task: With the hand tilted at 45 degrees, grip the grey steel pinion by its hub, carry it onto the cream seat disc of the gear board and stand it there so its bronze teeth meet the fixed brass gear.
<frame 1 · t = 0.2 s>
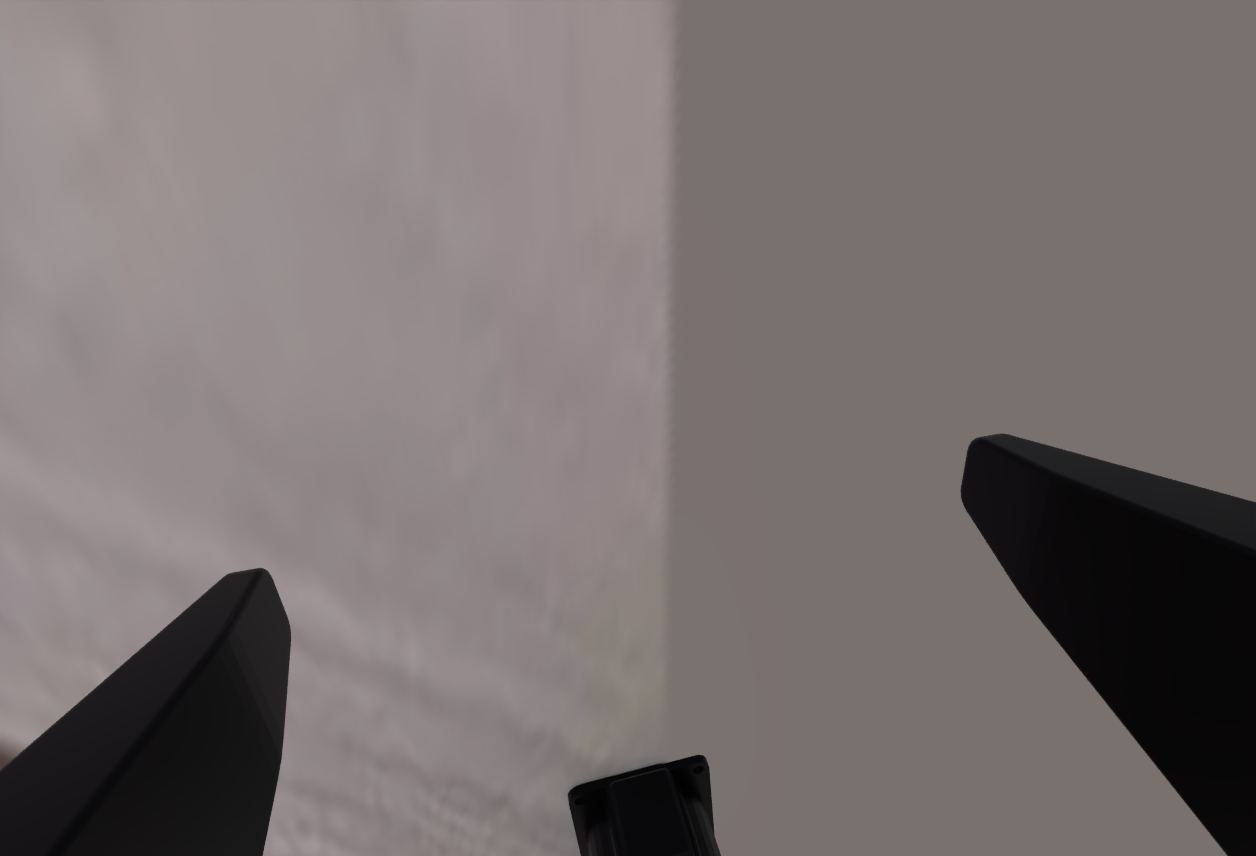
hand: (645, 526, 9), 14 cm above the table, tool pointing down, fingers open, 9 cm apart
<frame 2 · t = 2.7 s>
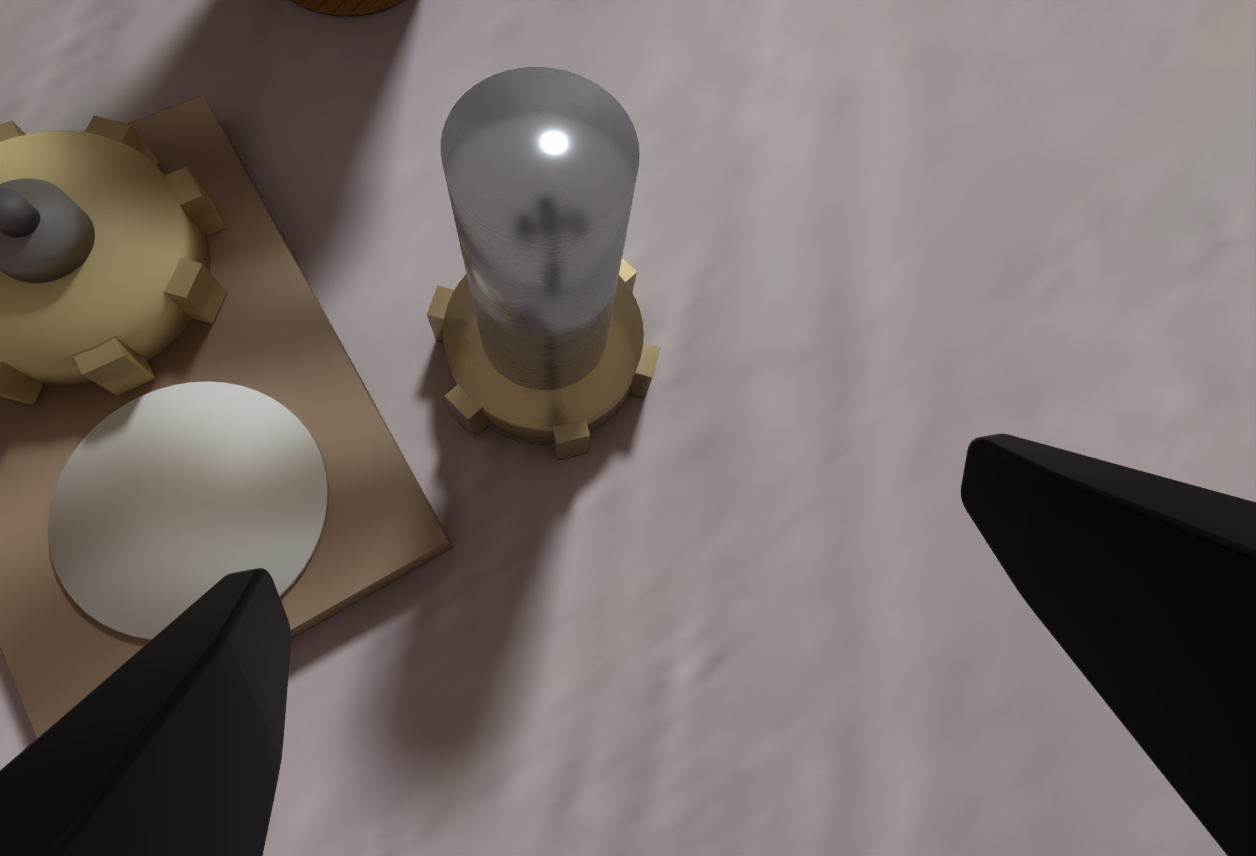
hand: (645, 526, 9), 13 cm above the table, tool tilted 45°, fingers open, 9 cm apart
gear board: (157, 398, 23), on the table
pinion: (545, 356, 24), on the table
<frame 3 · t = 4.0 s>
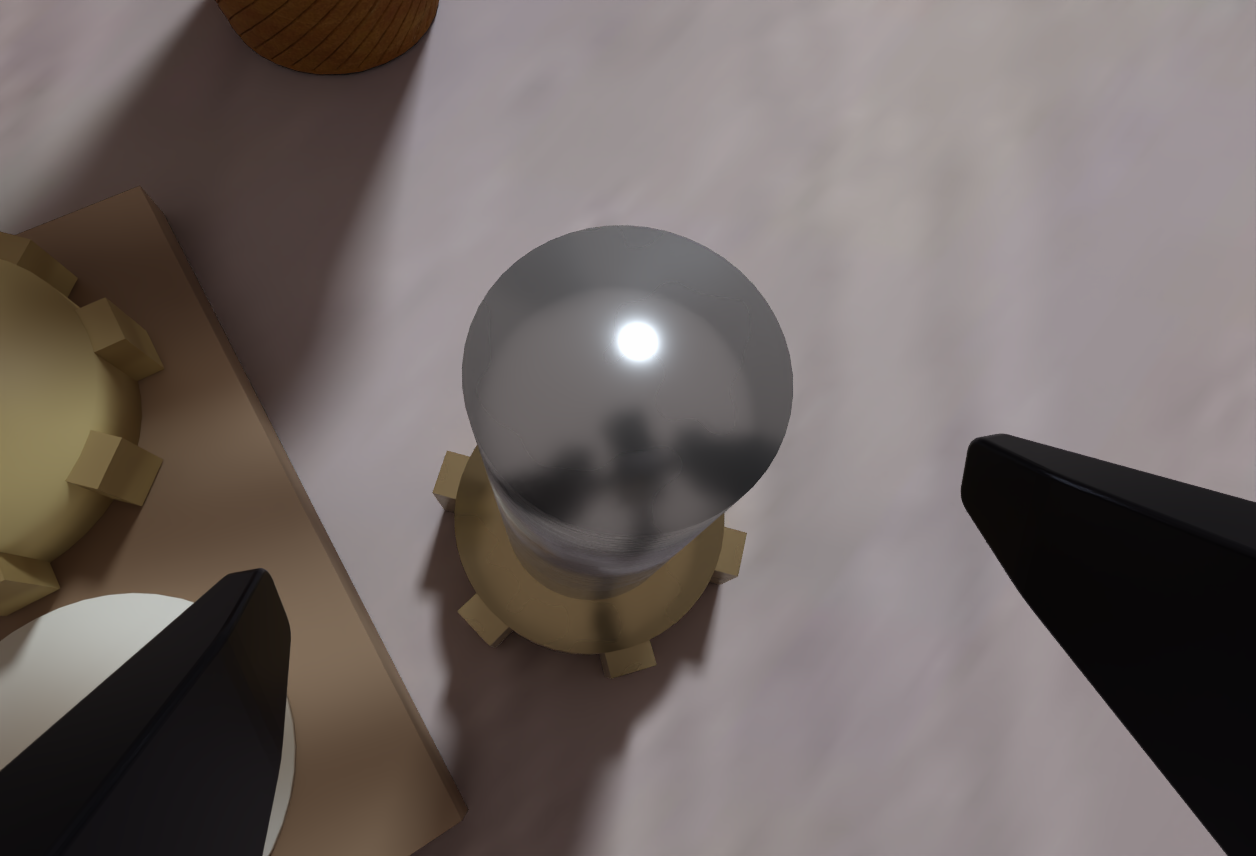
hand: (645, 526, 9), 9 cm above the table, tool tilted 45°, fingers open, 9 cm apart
gear board: (68, 602, 17), on the table
pinion: (587, 528, 19), on the table
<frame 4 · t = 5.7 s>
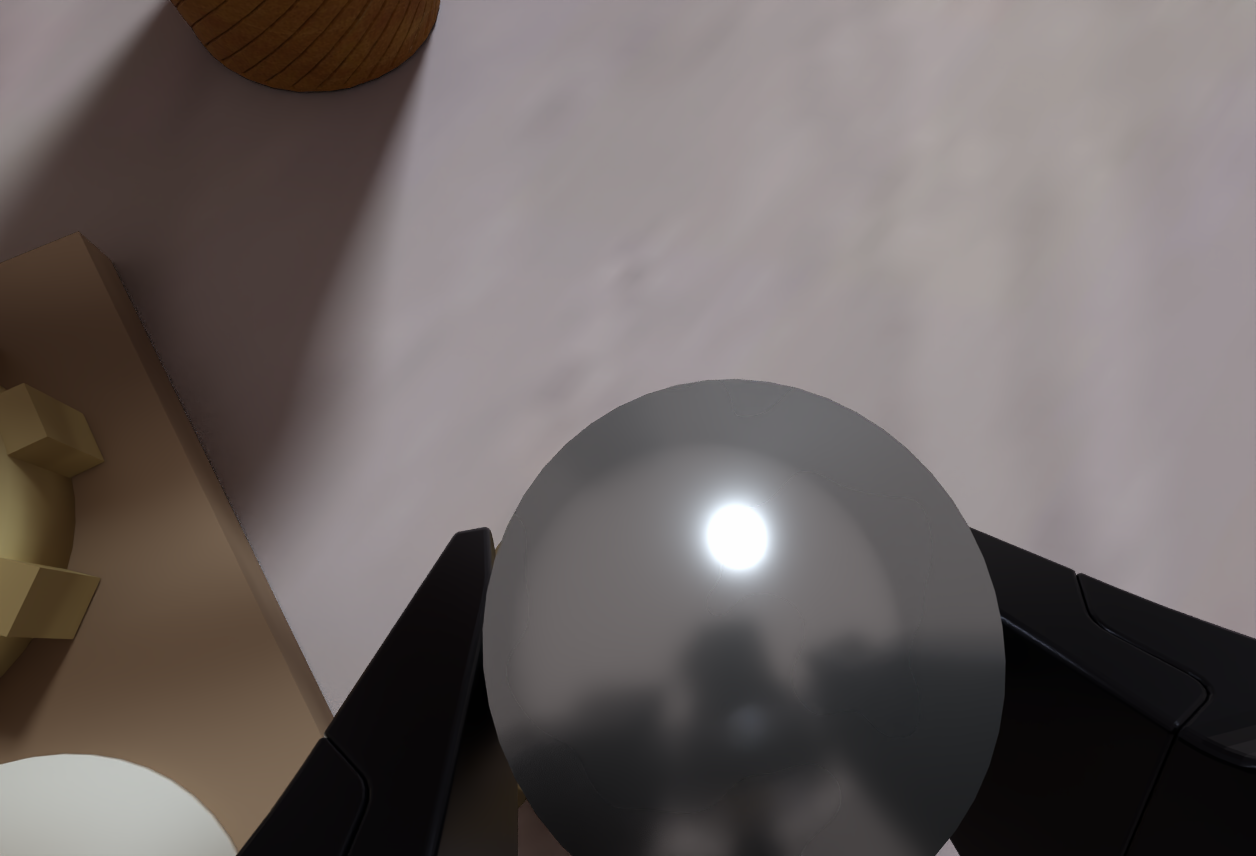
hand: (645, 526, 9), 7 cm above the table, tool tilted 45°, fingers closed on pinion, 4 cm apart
disposable coffee cup: (318, 0, 20), on the table
pinion: (620, 646, 15), on the table, touching gripper
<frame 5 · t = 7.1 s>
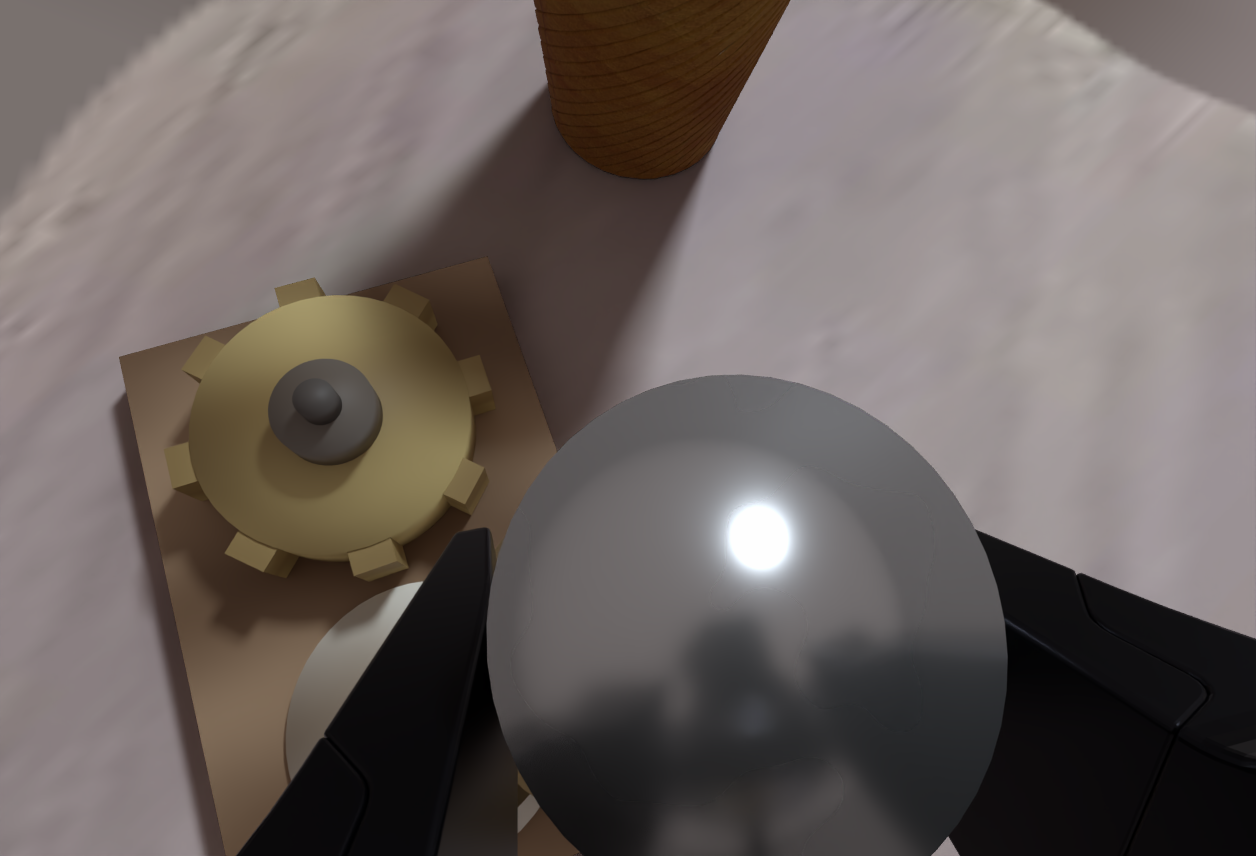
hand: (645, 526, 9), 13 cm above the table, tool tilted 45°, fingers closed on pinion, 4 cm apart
gear board: (396, 575, 22), on the table
disposable coffee cup: (636, 109, 28), on the table
pinion: (621, 644, 15), point 7 cm above the table, touching gripper
when the fingers open (10 cm above the table, at t = 8.6 s): pinion drops 2 cm, resting on gear board.
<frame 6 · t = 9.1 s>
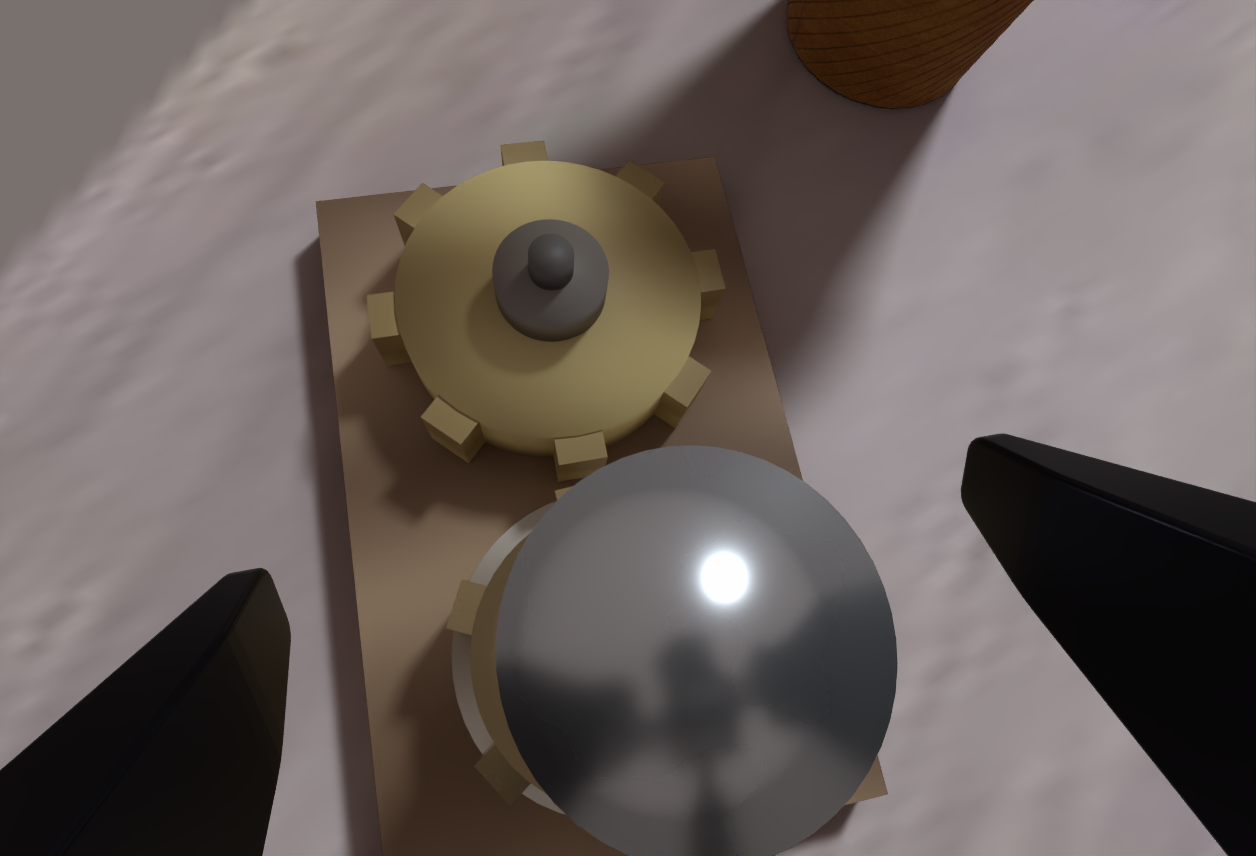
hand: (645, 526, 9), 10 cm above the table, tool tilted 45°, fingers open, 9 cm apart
gear board: (577, 485, 19), on the table
disposable coffee cup: (874, 35, 25), on the table
pinion: (613, 649, 17), point 1 cm above the table, touching gear board
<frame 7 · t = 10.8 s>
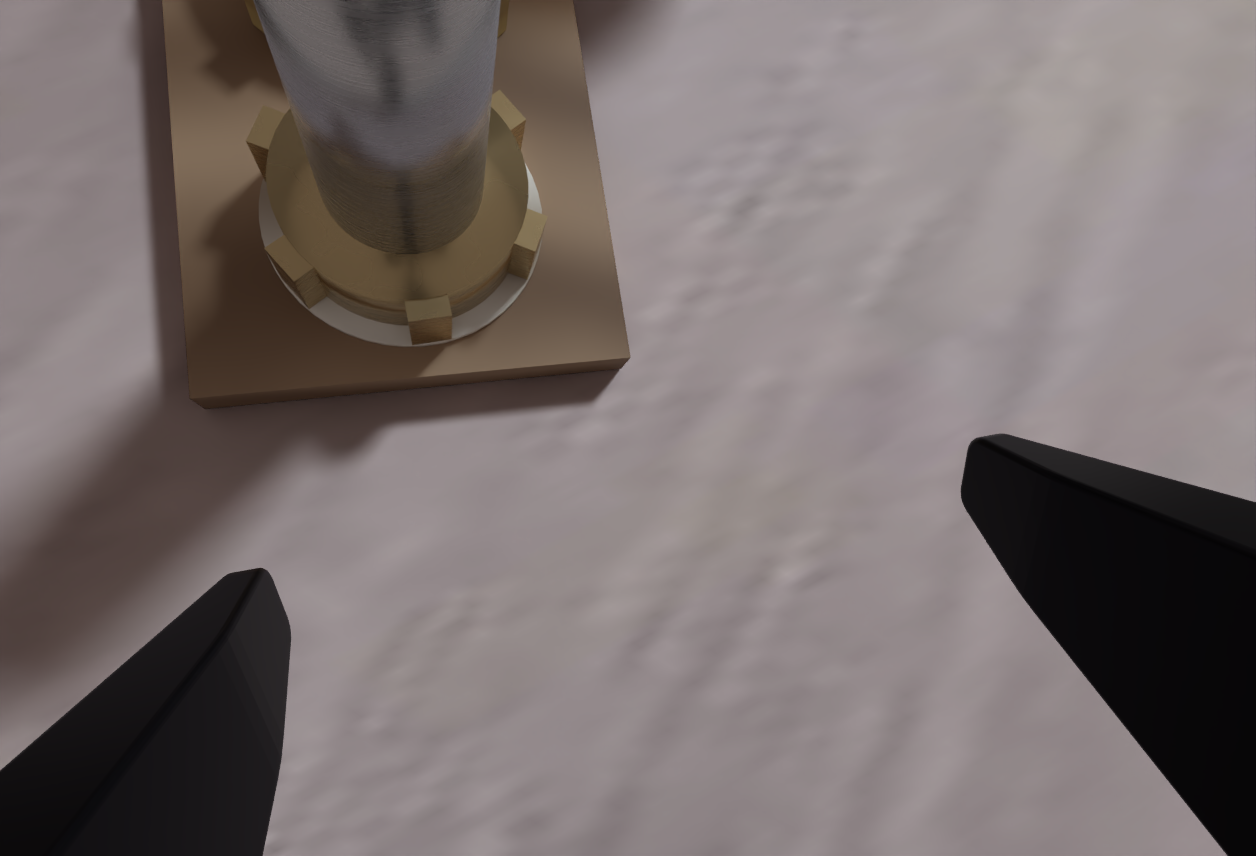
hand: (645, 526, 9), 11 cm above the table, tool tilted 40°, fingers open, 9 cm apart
gear board: (393, 103, 22), on the table
pinion: (406, 216, 20), point 1 cm above the table, touching gear board
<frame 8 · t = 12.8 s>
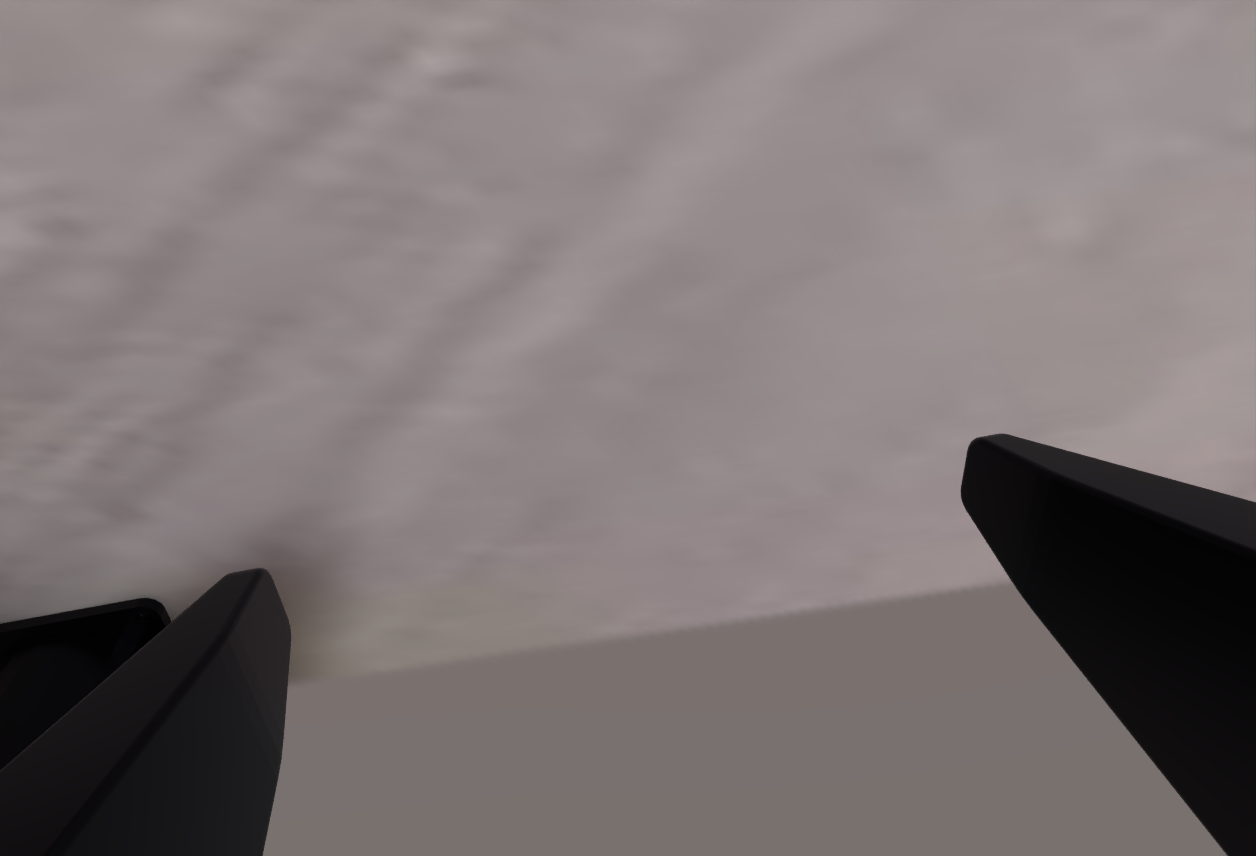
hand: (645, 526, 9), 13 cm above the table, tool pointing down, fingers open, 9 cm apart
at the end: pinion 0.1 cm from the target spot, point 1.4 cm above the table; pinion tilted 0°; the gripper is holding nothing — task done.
